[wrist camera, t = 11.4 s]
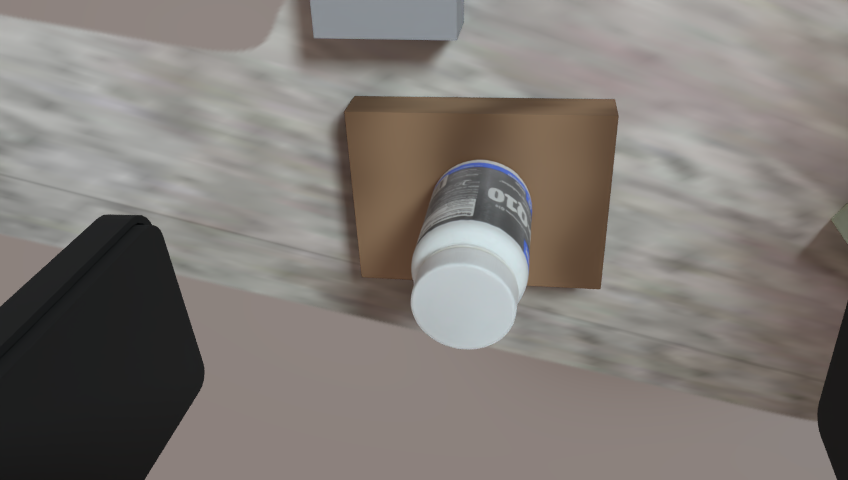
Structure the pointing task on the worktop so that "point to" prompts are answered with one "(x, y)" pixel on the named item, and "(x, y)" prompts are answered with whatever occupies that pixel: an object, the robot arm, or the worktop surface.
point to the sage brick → (842, 222)
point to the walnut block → (495, 141)
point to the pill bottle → (472, 255)
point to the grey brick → (387, 19)
